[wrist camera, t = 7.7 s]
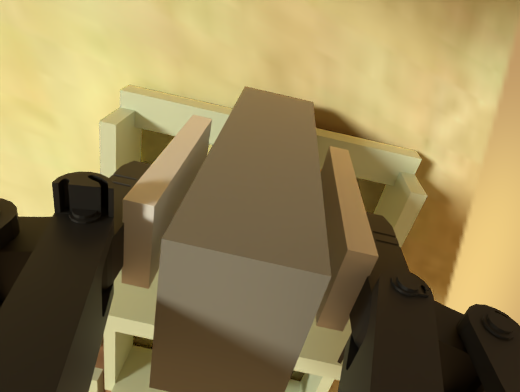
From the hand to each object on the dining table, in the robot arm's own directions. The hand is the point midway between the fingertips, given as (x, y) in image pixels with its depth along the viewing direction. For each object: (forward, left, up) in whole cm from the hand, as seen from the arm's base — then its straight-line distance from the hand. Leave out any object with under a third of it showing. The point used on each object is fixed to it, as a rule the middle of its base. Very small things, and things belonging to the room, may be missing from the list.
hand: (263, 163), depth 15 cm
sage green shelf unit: (+8, 0, -3) cm, 9 cm away
